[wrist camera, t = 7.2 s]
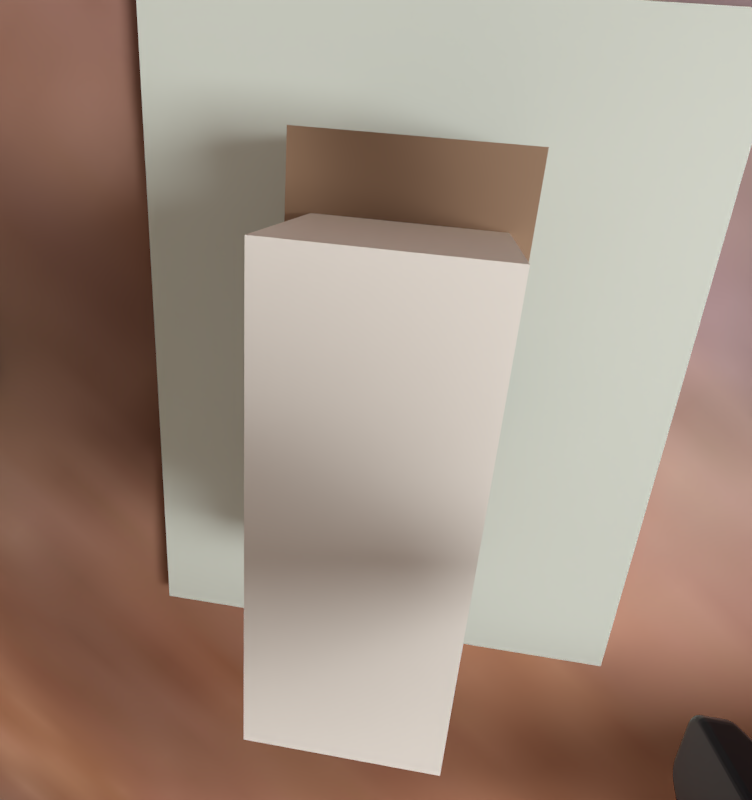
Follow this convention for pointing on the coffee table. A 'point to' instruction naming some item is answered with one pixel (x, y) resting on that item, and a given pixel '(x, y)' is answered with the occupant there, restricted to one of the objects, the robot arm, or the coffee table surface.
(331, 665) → the lintel
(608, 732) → the coffee table surface
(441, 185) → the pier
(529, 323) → the board
